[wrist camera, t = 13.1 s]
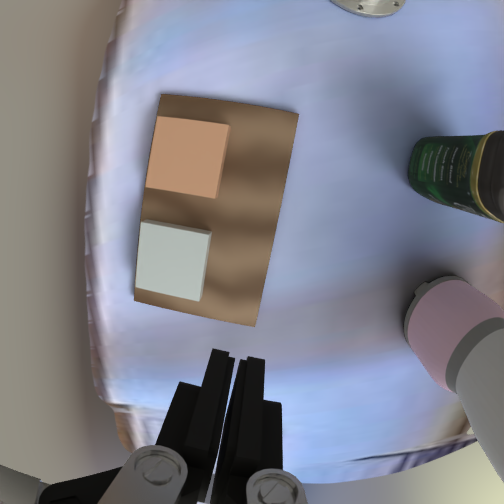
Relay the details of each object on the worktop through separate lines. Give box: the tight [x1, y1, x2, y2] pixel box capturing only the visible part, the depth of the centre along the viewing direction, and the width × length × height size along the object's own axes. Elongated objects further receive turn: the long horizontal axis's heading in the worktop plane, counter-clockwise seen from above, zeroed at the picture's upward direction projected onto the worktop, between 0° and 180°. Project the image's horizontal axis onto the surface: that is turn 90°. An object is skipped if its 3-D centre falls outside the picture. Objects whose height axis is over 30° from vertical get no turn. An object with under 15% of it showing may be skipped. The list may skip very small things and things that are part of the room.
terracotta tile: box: [145, 116, 231, 199], centre depth 34 cm, size 8×2×8 cm
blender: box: [404, 275, 504, 482], centre depth 24 cm, size 16×12×32 cm
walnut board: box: [134, 94, 299, 327], centre depth 37 cm, size 26×16×1 cm, turn 169°
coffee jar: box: [408, 130, 504, 223], centre depth 26 cm, size 10×8×19 cm
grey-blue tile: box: [135, 219, 212, 301], centre depth 37 cm, size 8×2×8 cm
